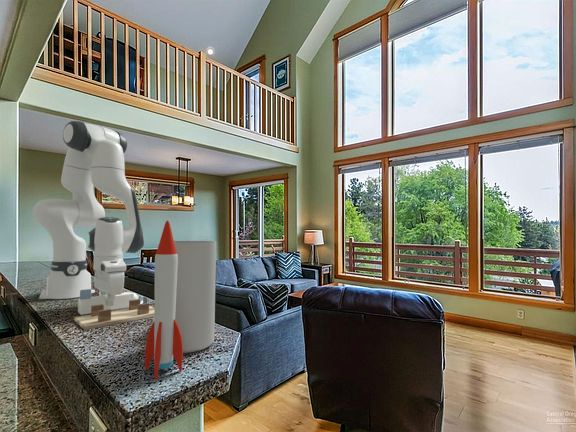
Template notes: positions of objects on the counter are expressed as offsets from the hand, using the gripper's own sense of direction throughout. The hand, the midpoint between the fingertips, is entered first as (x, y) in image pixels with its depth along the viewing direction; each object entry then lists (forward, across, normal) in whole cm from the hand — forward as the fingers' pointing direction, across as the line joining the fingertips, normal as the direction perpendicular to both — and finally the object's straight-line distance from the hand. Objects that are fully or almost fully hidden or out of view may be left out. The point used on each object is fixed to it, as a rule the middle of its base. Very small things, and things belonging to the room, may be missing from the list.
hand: (107, 304), depth 109 cm
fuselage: (+2, 0, +1) cm, 2 cm away
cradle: (+2, +14, 0) cm, 14 cm away
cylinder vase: (+2, +49, +4) cm, 49 cm away
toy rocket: (+2, +59, -6) cm, 59 cm away
